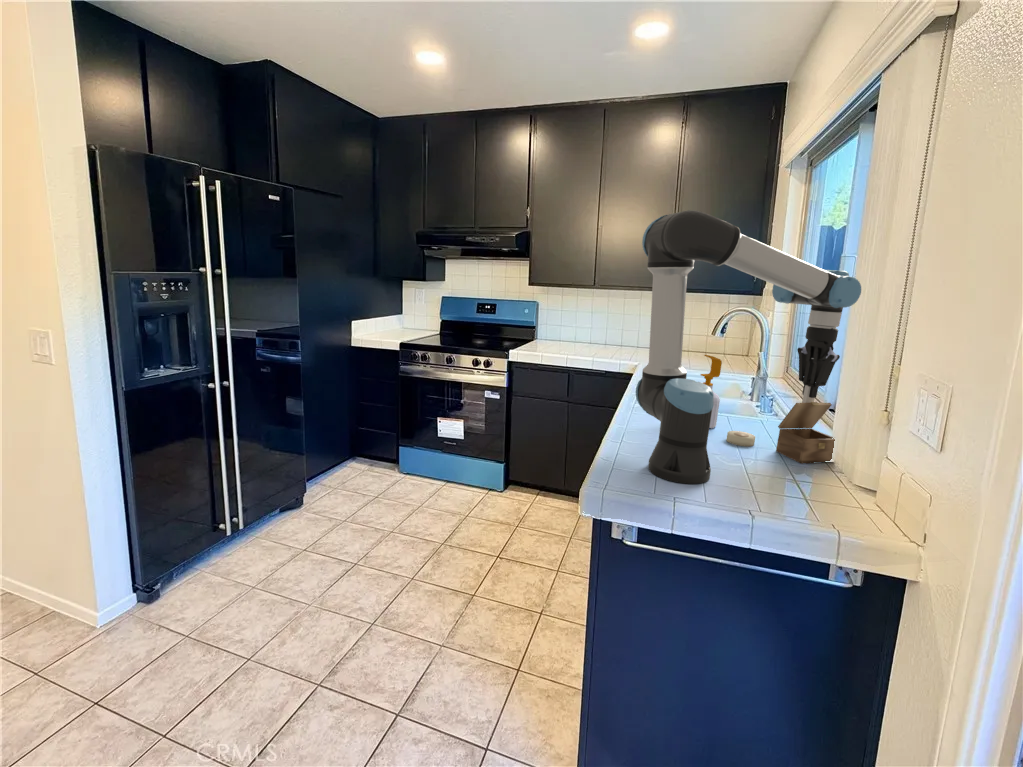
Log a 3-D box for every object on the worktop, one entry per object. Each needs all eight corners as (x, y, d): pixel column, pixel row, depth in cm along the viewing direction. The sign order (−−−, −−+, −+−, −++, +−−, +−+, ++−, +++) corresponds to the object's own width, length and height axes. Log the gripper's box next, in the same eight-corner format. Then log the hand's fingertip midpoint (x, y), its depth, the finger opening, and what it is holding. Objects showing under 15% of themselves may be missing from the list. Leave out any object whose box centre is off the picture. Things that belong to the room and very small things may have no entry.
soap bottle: (682, 422, 175) (691, 353, 170) (702, 420, 179) (712, 352, 173) (701, 429, 167) (711, 357, 162) (721, 428, 171) (732, 357, 165)
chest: (801, 463, 140) (806, 440, 138) (775, 451, 149) (779, 428, 148) (834, 462, 142) (839, 439, 140) (807, 450, 152) (811, 428, 150)
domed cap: (737, 446, 152) (738, 438, 151) (721, 438, 159) (722, 430, 159) (759, 446, 153) (761, 438, 153) (743, 438, 161) (744, 430, 160)
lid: (799, 405, 140) (796, 402, 141) (780, 429, 147) (777, 426, 148) (833, 405, 143) (830, 402, 144) (812, 429, 150) (810, 426, 151)
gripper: (853, 330, 134) (835, 413, 140) (816, 324, 146) (800, 401, 152) (830, 329, 133) (813, 414, 138) (794, 323, 145) (779, 401, 150)
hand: (806, 407), depth 145 cm, fingers closed
